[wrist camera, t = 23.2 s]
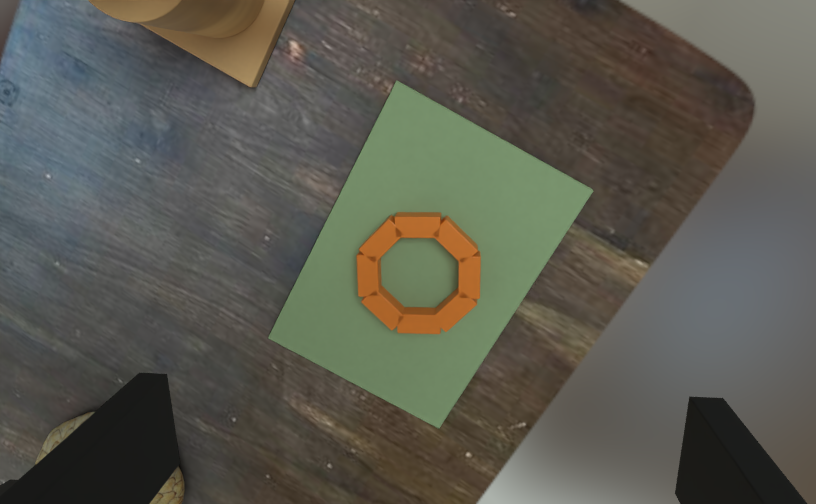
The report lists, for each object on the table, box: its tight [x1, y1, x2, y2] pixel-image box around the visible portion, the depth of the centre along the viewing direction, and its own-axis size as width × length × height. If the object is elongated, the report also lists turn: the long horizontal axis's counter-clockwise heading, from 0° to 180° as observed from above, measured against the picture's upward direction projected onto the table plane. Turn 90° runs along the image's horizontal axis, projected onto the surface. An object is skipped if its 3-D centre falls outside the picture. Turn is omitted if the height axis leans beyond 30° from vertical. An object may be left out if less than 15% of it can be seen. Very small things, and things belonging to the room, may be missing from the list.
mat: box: [268, 81, 593, 428], centre depth 38 cm, size 20×14×1 cm
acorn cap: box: [35, 412, 185, 504], centre depth 44 cm, size 10×11×10 cm
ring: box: [356, 212, 481, 334], centre depth 37 cm, size 8×8×1 cm
